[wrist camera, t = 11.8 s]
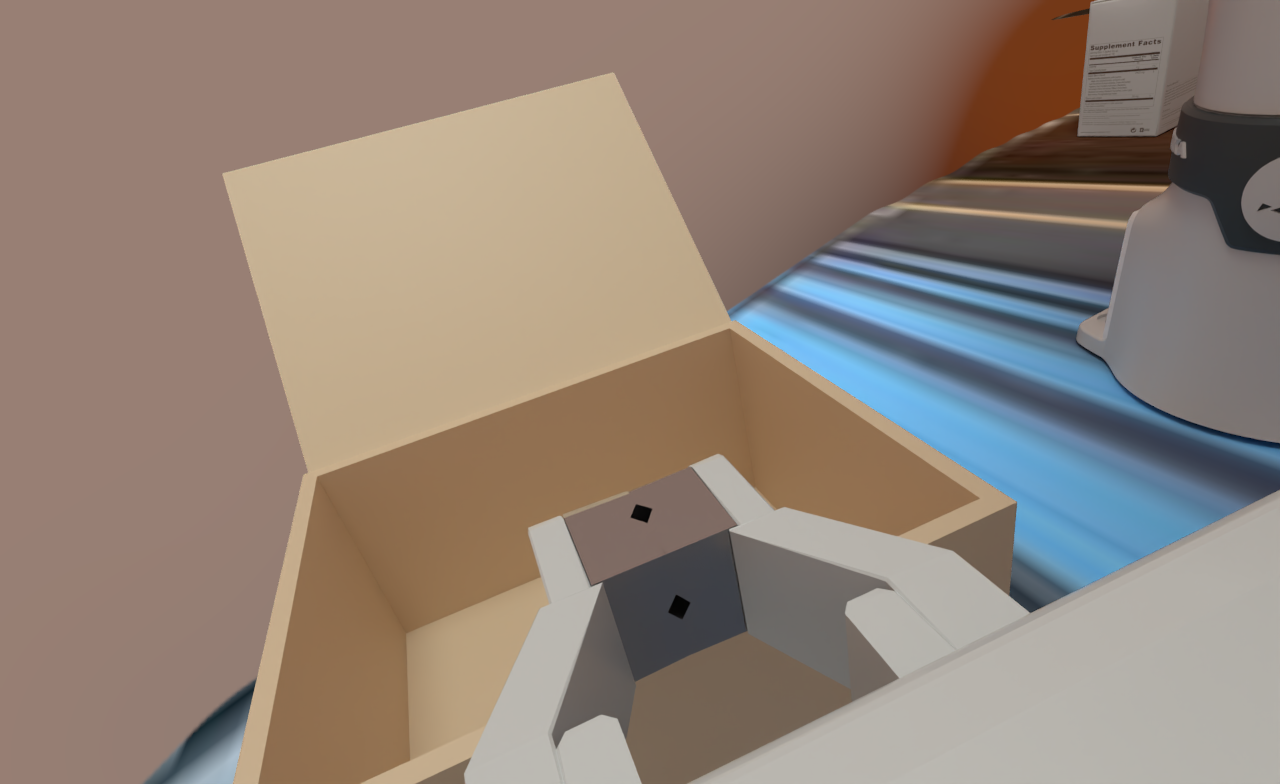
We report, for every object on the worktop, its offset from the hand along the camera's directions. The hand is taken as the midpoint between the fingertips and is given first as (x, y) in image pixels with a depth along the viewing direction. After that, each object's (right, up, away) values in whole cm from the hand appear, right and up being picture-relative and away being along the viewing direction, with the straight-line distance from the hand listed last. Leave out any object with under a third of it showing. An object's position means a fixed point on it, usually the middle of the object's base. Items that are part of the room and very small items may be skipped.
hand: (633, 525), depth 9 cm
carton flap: (-7, +9, +21) cm, 24 cm away
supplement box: (+61, +34, +69) cm, 98 cm away
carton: (0, -10, +17) cm, 20 cm away
